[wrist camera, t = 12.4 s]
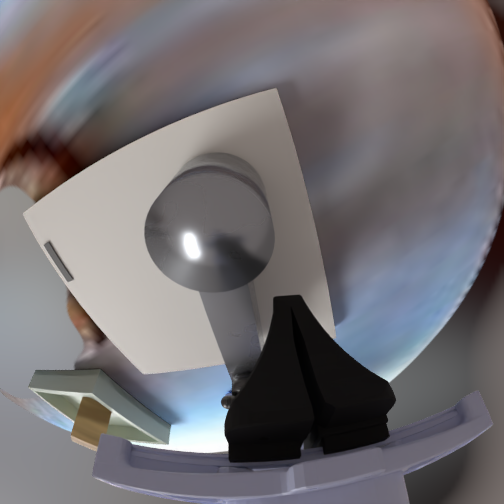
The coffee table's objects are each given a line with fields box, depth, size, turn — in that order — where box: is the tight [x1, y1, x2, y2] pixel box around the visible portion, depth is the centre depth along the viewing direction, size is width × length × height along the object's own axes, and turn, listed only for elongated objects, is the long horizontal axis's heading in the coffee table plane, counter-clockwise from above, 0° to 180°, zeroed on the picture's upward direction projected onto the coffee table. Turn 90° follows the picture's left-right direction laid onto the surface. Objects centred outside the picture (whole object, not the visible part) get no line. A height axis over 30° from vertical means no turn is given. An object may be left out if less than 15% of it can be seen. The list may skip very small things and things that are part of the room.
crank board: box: [23, 88, 336, 374], centre depth 15 cm, size 16×16×1 cm
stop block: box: [71, 397, 112, 451], centre depth 23 cm, size 4×4×6 cm
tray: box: [28, 369, 171, 444], centre depth 25 cm, size 14×14×3 cm
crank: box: [144, 152, 275, 409], centre depth 12 cm, size 13×4×5 cm, turn 8°
